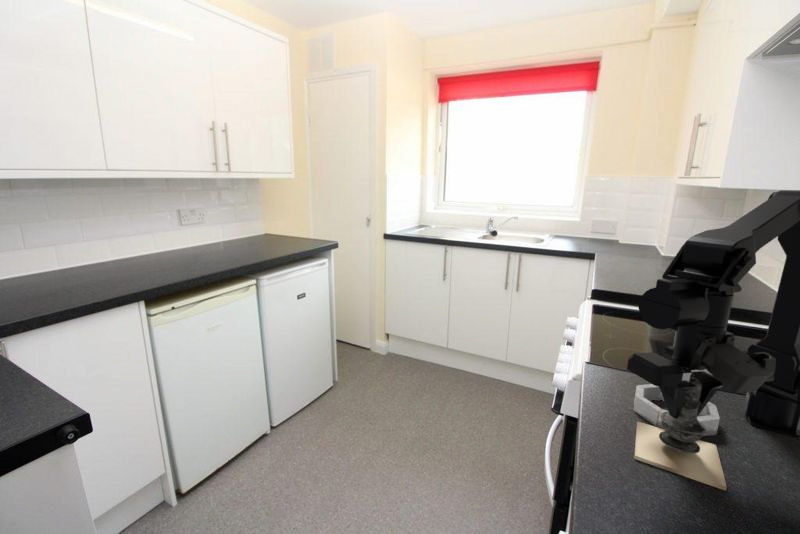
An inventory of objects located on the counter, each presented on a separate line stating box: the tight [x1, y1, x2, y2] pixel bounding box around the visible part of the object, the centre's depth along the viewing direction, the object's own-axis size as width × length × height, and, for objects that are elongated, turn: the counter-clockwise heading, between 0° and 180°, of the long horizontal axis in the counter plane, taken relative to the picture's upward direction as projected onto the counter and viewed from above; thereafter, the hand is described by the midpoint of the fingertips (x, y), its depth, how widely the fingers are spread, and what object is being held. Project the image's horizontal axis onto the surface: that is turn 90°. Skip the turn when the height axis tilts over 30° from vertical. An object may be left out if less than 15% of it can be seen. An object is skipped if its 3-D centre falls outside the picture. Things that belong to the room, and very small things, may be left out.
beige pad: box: [633, 421, 728, 491], centre depth 60 cm, size 11×11×1 cm
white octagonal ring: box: [633, 383, 721, 437], centre depth 71 cm, size 12×12×3 cm
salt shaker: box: [659, 373, 707, 454], centre depth 59 cm, size 6×6×12 cm
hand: (683, 416), depth 59 cm, fingers closed on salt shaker, 3 cm apart
